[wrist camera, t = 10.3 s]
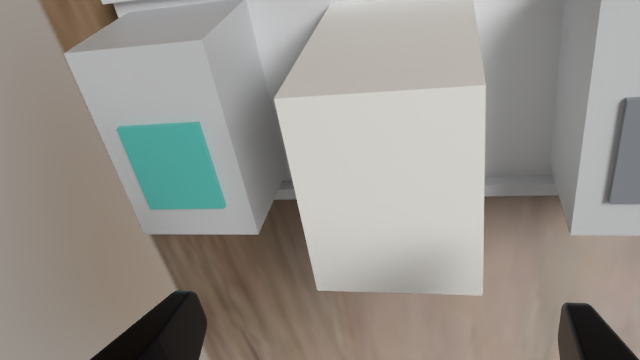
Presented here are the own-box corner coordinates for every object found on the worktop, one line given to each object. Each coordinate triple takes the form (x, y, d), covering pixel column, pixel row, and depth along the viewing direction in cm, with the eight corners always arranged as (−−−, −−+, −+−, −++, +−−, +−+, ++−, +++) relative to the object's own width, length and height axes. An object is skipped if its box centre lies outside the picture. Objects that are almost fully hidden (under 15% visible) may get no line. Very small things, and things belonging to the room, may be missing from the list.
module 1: (246, -2, 18) (199, 42, 14) (286, 170, 21) (256, 238, 18) (128, 11, 19) (59, 55, 15) (187, 174, 23) (141, 237, 19)
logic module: (471, -11, 16) (485, 84, 11) (471, 158, 19) (482, 299, 14) (329, 4, 17) (273, 98, 12) (353, 162, 21) (318, 294, 15)
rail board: (761, -134, 14) (804, -126, 13) (682, 171, 20) (704, 204, 18) (122, -40, 19) (91, -26, 18) (199, 182, 25) (181, 210, 23)
